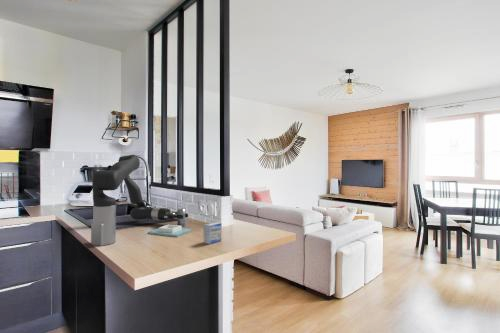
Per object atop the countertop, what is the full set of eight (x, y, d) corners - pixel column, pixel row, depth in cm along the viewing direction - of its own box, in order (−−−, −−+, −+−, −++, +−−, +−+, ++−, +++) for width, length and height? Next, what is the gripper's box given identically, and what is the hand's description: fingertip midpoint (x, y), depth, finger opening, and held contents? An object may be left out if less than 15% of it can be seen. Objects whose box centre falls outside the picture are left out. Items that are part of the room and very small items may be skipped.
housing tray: (177, 237, 140) (177, 231, 140) (147, 233, 146) (147, 228, 146) (191, 230, 153) (192, 225, 153) (164, 228, 159) (164, 222, 159)
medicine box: (209, 244, 128) (210, 225, 128) (203, 242, 131) (203, 224, 131) (221, 241, 134) (221, 223, 134) (214, 239, 137) (215, 221, 137)
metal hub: (182, 227, 162) (182, 210, 162) (175, 226, 163) (176, 209, 163) (186, 225, 166) (186, 208, 166) (180, 224, 167) (180, 208, 167)
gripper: (153, 209, 162) (178, 211, 157) (168, 206, 176) (191, 208, 170) (153, 222, 163) (178, 225, 157) (167, 218, 176) (191, 220, 170)
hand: (185, 216), depth 164 cm, fingers closed on metal hub, 4 cm apart
